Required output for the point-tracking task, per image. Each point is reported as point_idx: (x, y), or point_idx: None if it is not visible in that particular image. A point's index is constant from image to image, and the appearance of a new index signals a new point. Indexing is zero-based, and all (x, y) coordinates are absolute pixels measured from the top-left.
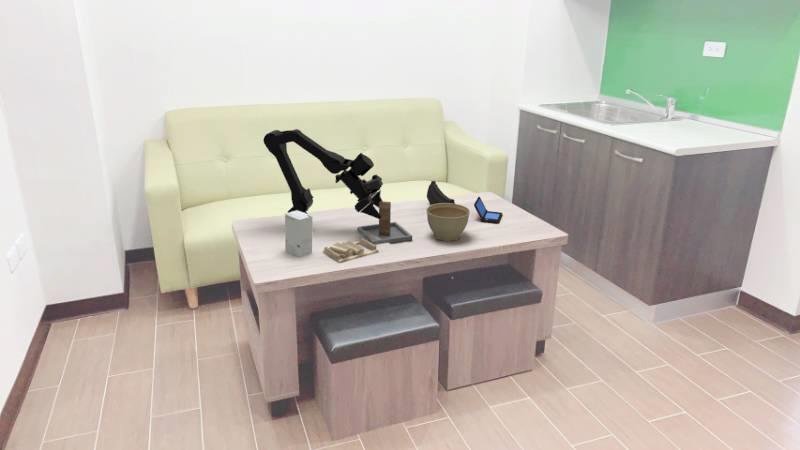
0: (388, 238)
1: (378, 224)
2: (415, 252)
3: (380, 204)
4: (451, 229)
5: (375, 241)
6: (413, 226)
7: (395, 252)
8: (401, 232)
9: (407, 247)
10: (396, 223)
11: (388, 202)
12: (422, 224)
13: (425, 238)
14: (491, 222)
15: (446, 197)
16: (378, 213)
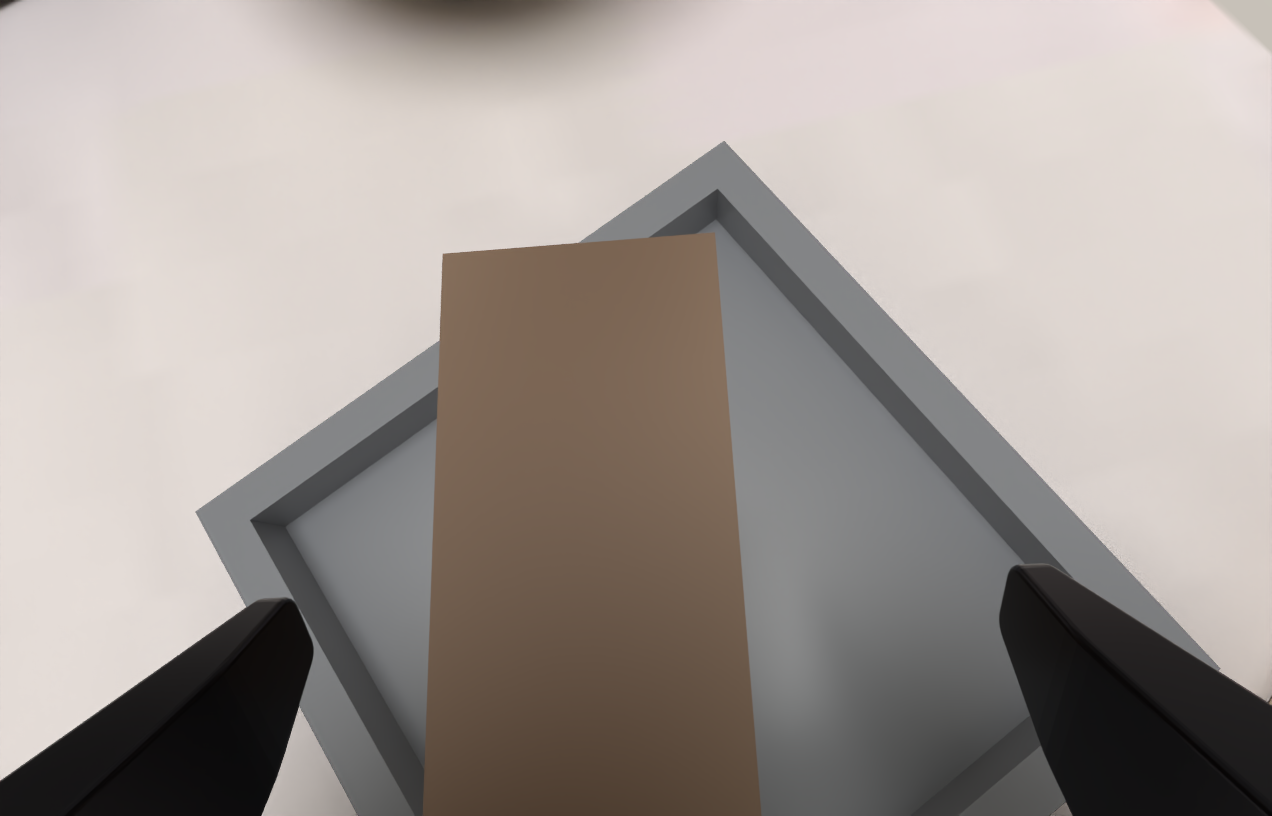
0: (955, 433)
1: (366, 780)
2: (1074, 66)
3: (751, 738)
4: None
5: (1163, 614)
6: (214, 289)
7: (1193, 281)
8: None
9: (958, 186)
10: (272, 478)
11: (528, 336)
12: (132, 203)
13: (594, 68)
14: None
15: None
16: (1177, 663)
